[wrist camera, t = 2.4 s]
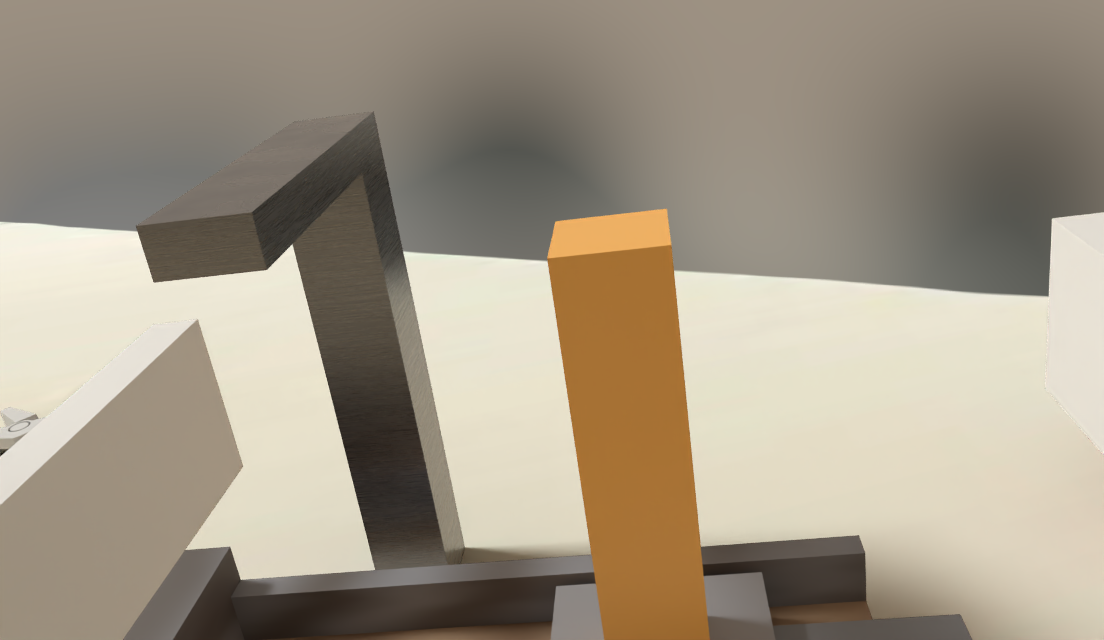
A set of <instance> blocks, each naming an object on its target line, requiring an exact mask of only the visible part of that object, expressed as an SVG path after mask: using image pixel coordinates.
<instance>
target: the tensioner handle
mask: <svg viewBox="0 0 1104 640" xmlns="http://www.w3.org/2000/svg"><path fill="white" fill-rule="evenodd" d="M672 258H673V257H672V247H671V239H670V231H669V223H668V216H667V209H661V210H652V211H644V212H634V213H625V214H616V215H608V216H599V217H590V218H581V219H572V220H563V221H556V222H555V226H554V231H553V235H552V240H551V244H550V249H549V253H548V258H547V260H548V267H549V273H550V280H551V287H552V293H553V300H554V307H555V313H556V320H557V327H558V334H559V340H560V347H561V354H562V360H563V367H564V374H565V380H566V387H567V394H568V400H569V407H570V414H571V421H572V427H573V434H574V441H575V447H576V454H577V461H578V467H579V474H580V481H581V487H582V494H583V501H584V508H585V514H586V521H587V528H588V534H589V541H590V548H591V554H592V561H593V568H594V574H595V581H596V584H581V585H567V586H556V593H555V602H554V612H553V622H552V631H551V640H972V638H971V636H970V634H969V632H968V630H967V628H966V625H965V623H964V621H963V619H962V617H961V615H960V614H956V615H940V616H924V617H908V618H892V619H876V620H859V621H843V622H827V623H811V624H795V625H779V626H773V625H772V620H771V615H770V610H769V605H768V600H767V595H766V590H765V585H764V580H763V575H762V572H756V573H742V574H727V575H713V576H703V565H702V555H701V545H700V534H699V524H698V514H697V504H696V493H695V483H694V473H693V463H692V452H691V442H690V432H689V421H688V411H687V401H686V391H685V380H684V370H683V360H682V350H681V339H680V329H679V319H678V308H677V298H676V288H675V278H674V267H673V259H672Z"/></svg>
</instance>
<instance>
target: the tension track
mask: <svg viewBox="0 0 1104 640" xmlns="http://www.w3.org/2000/svg"><path fill="white" fill-rule="evenodd" d="M701 555H702V565H703V576H713V575H727V574H742V573H756V572H762V575H763V580H764V585H765V590H766V595H767V600H768V605H769V610H770V615H771V620H772V625H773V626H779V625H795V624H811V623H827V622H843V621H859V620H873V619H872V617H871V614H870V611H869V608H868V605H867V602H866V568H865V551H864V548H863V546H862V543H861V540H860V538H859V535H858V536H844V537H830V538H816V539H802V540H789V541H775V542H761V543H747V544H733V545H719V546H705V547H701ZM581 584H596V581H595V574H594V568H593V561H592V555H581V556H567V557H553V558H539V559H525V560H511V561H497V562H484V563H470V564H456V565H442V566H428V567H414V568H400V569H387V570H373V571H359V572H345V573H331V574H317V575H303V576H289V577H276V578H262V579H248V580H240V576H239V573H238V570H237V567H236V564H235V561H234V558H233V555H232V551H231V548H230V547H221V548H208V549H195V550H185V551H184V552H183V554H182V555H181V556H180V558H179V559H178V561H177V562H176V564H175V565H174V567H173V568H172V569H171V571H170V572H169V574H168V575H167V577H166V578H165V579H164V581H163V582H162V584H161V585H160V587H159V588H158V590H157V591H156V592H155V594H154V595H153V597H152V598H151V600H150V601H149V602H148V604H147V605H146V607H145V608H144V610H143V611H142V613H141V614H140V615H139V617H138V618H137V620H136V621H135V623H134V624H133V625H132V627H131V628H130V630H129V631H128V633H127V634H126V636H125V637H124V638H123V640H551V631H552V622H553V612H554V602H555V593H556V586H567V585H581Z"/></svg>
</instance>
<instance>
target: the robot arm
mask: <svg viewBox="0 0 1104 640" xmlns="http://www.w3.org/2000/svg"><path fill="white" fill-rule="evenodd" d="M1045 389H1046V390H1047V391H1048V392H1049V394H1050V395H1051V396H1052V397H1053V398H1054V399H1055V400H1056V402H1057V403H1058V404H1059V405H1060V406H1061V407H1062V408H1063V410H1064V411H1065V412H1066V413H1067V414H1068V415H1069V416H1070V417H1071V419H1072V420H1073V421H1074V422H1075V423H1076V424H1077V425H1078V427H1079V428H1080V429H1081V430H1082V431H1083V432H1084V433H1085V435H1086V436H1087V437H1088V438H1089V439H1090V440H1091V441H1092V443H1093V444H1094V445H1095V446H1096V447H1097V448H1098V449H1099V451H1100V452H1101V453H1102V454H1103V455H1104V213H1095V214H1087V215H1079V216H1069V217H1061V218H1053V219H1052V235H1051V259H1050V282H1049V305H1048V329H1047V352H1046V375H1045ZM242 467H243V464H242V461H241V458H240V454H239V451H238V448H237V445H236V441H235V438H234V435H233V432H232V429H231V425H230V422H229V419H228V416H227V412H226V409H225V406H224V403H223V399H222V396H221V393H220V390H219V386H218V383H217V380H216V377H215V374H214V370H213V367H212V364H211V361H210V357H209V354H208V351H207V348H206V344H205V341H204V338H203V335H202V331H201V328H200V325H199V322H198V319H193V320H185V321H176V322H168V323H159V324H153V325H152V326H151V327H149V328H148V329H147V330H146V331H145V332H144V333H142V334H141V335H140V336H139V337H138V338H137V339H136V340H134V341H133V342H132V343H131V344H130V345H129V346H127V347H126V348H125V349H124V350H123V351H122V352H121V353H119V354H118V355H117V356H116V357H115V358H114V359H112V360H111V361H110V362H109V363H108V364H107V365H106V366H104V367H103V368H102V369H101V370H100V371H99V372H97V373H96V374H95V375H94V376H93V377H92V378H90V379H89V380H88V381H87V382H86V383H85V384H84V385H82V386H81V387H80V388H79V389H78V390H77V391H75V392H74V393H73V394H72V395H71V396H70V397H69V398H67V399H66V400H65V401H64V402H63V403H62V404H60V405H59V406H58V407H57V408H56V409H55V410H54V411H52V412H51V413H50V414H49V415H48V416H47V417H45V418H44V419H43V420H42V421H41V422H40V423H39V424H37V425H36V426H35V427H34V428H33V429H32V430H30V431H29V432H28V433H27V434H26V435H25V436H23V437H22V438H21V439H20V440H19V441H18V442H17V443H15V444H14V445H13V446H12V447H11V448H10V449H8V450H7V451H6V452H5V453H4V454H3V455H2V456H0V640H123V638H124V637H125V636H126V634H127V633H128V631H129V630H130V628H131V627H132V625H133V624H134V623H135V621H136V620H137V618H138V617H139V615H140V614H141V613H142V611H143V610H144V608H145V607H146V605H147V604H148V602H149V601H150V600H151V598H152V597H153V595H154V594H155V592H156V591H157V590H158V588H159V587H160V585H161V584H162V582H163V581H164V579H165V578H166V577H167V575H168V574H169V572H170V571H171V569H172V568H173V567H174V565H175V564H176V562H177V561H178V559H179V558H180V556H181V555H182V554H183V552H184V551H185V549H186V548H187V546H188V545H189V544H190V542H191V541H192V539H193V538H194V536H195V535H196V533H197V532H198V531H199V529H200V528H201V526H202V525H203V523H204V522H205V521H206V519H207V518H208V516H209V515H210V513H211V512H212V510H213V509H214V508H215V506H216V505H217V503H218V502H219V500H220V499H221V498H222V496H223V495H224V493H225V492H226V490H227V489H228V487H229V486H230V485H231V483H232V482H233V480H234V479H235V477H236V476H237V475H238V473H239V472H240V470H241V469H242Z"/></svg>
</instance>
